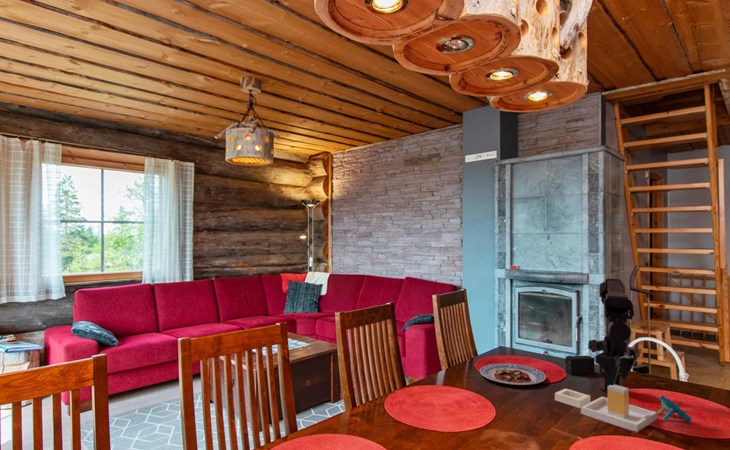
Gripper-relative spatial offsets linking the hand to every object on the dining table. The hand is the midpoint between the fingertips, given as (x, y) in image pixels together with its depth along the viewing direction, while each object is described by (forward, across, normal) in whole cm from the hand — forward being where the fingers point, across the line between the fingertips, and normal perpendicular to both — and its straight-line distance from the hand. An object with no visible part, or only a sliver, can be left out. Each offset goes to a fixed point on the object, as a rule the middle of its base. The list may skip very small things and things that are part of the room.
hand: (617, 382), depth 144 cm
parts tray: (+11, 0, 0) cm, 11 cm away
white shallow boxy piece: (+11, -1, -16) cm, 19 cm away
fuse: (+11, 0, 0) cm, 11 cm away
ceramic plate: (+12, -6, -44) cm, 45 cm away
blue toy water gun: (+12, -12, +12) cm, 20 cm away
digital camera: (+11, -33, -30) cm, 46 cm away
